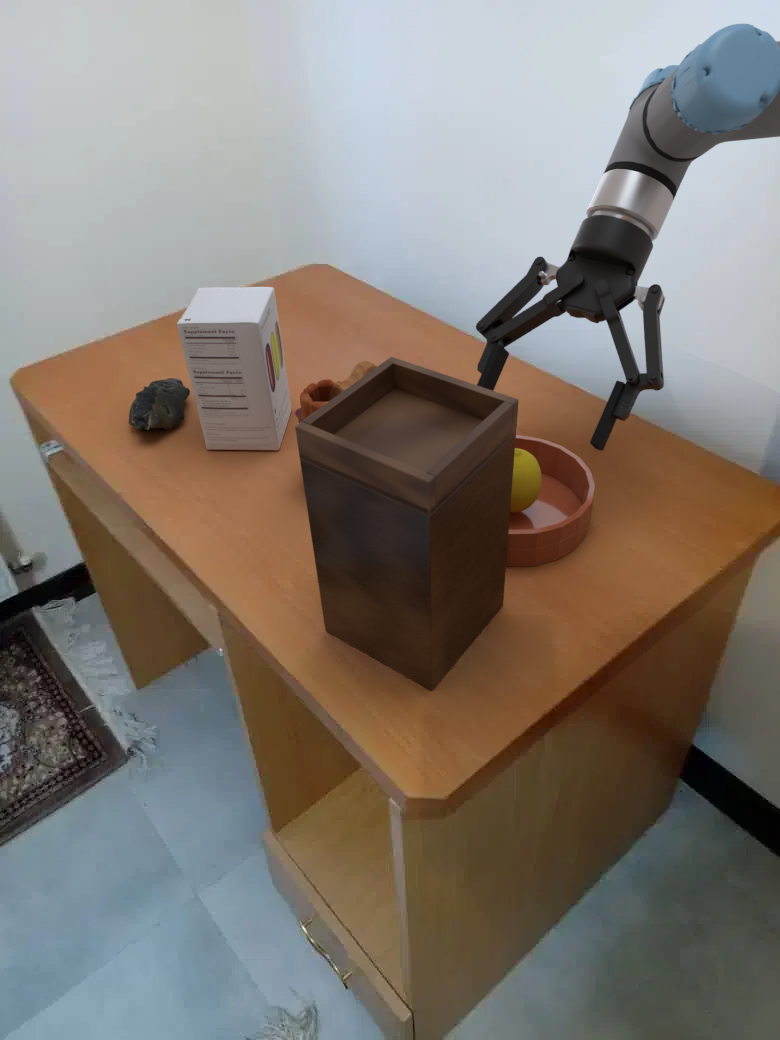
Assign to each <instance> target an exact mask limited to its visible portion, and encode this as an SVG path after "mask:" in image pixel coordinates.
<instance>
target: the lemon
mask: <svg viewBox="0 0 780 1040" xmlns="http://www.w3.org/2000/svg"><path fill="white" fill-rule="evenodd" d="M540 489H541V470H540V467H539V464H538V462H537V460H536V458H535V457H534V456H533V455H532V454H530V453H529V452H527V451H525V450H523V449H518V448H515V453H514V467H513V480H512V493H511V507H510V512H521V511H523V510H526V509H527V508H529V507H530V506H531V505H532V504H533V503H534V502H535V501H536V499H537V497H538V495H539V493H540Z"/></svg>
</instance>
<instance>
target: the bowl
mask: <svg viewBox="0 0 780 1040" xmlns="http://www.w3.org/2000/svg"><path fill="white" fill-rule="evenodd" d="M515 448H518V449H523V450H525V451H527V452H529V453H530V454H532V455H533V456H534V457H535V458H536V460H537V462H538V464H539V467H540V470H541V489H540V493H539V495H538V497H537V499H536V501H535V502H534V503H533V504H532V505H531V506H530V507H529V508H527V509H526V510H523V511H521V512H510V520H509V533H508V547H507V560H506V567H511V568H513V567H519V568H520V567H521V568H523V567H533V566H534V567H535V566H539V565H544V564H548V563H550V562H554V561H556V560H559V559H562V558H563V557H565V556H567V555H568V554H571V552H572V551H574V550H575V549H576V548H577V547H578V546H579V545H580V544H581V543H582V542H583V540H584V539H585V537H586V535H587V533H588V531H589V526H590V521H591V517H592V511H593V506H594V498H595V493H596V483H595V480H594V477H593V473H592V471H591V469H590V468H589V466H587V464H586V463H585V462H584V461H583V460H582V458H581V457H580V456H578V455H577V454H575V453H573V452H572V451H570V450H569V449H567V448H566V447H564V446H563V445H560V444H557V443H555V442H552V441H549V440H546V439H543V438H540V437H534V436H526V435H520V434H516V440H515Z"/></svg>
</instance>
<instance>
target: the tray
mask: <svg viewBox="0 0 780 1040" xmlns="http://www.w3.org/2000/svg"><path fill="white" fill-rule="evenodd" d="M376 366H377V367H376V368H375V369H373V370H372V371H371V372H369V373H368V374H366V375H365V376H364V377H362V378H361V379H359V380H358V381H357V382H355V383H354V384H353V385H351V386H350V387H348V388H347V389H346V390H344V391H343V392H341V393H340V394H339V395H337V396H336V397H335V398H333V399H332V400H330V401H329V402H328V403H326V404H325V405H324V406H322V407H321V408H319V409H318V410H317V411H315V412H314V413H312V414H311V415H310V416H308V417H307V418H306V419H304V420H303V421H302V422H300V423H299V422H298V423H297V424H296V425H295V426H294V429H295V436H296V442H297V448H298V455H299V460H300V459H302V460H304V461H307V462H309V463H311V464H314V465H316V466H318V467H320V468H323V469H325V470H327V471H329V472H332V473H334V474H336V475H338V476H341V477H343V478H345V479H348V480H350V481H352V482H354V483H357V484H359V485H361V486H363V487H366V488H368V489H370V490H372V491H375V492H377V493H379V494H381V495H384V496H386V497H388V498H391V499H393V500H395V501H397V502H400V503H402V504H404V505H406V506H409V507H411V508H413V509H415V510H418V511H420V512H422V513H425V514H427V515H431V514H432V513H433V512H434V511H435V510H436V509H437V508H438V507H439V506H440V505H441V504H442V503H443V502H444V501H445V500H446V499H447V498H448V497H449V496H450V495H451V494H452V493H453V492H454V491H455V490H456V489H457V488H458V487H460V486H461V485H462V484H463V483H464V482H465V481H466V480H467V479H468V478H469V477H470V476H471V475H472V474H473V473H474V472H475V471H476V470H477V469H478V468H479V467H480V466H481V465H482V464H483V463H484V462H485V461H486V460H487V459H488V458H489V457H491V456H492V455H493V454H494V453H495V452H496V451H497V450H498V449H499V448H500V447H501V446H502V445H503V444H504V443H505V442H506V441H507V440H508V439H509V438H510V437H511V436H512V435H513V434H514V433H515V432H516V433H517V427H518V413H519V401H520V399H519V398H516V397H513V396H510V395H507V394H504V393H501V392H498V391H495V390H493V391H492V390H489V389H486V388H483V387H480V386H477V384H474V383H471V382H468V381H465V380H462V379H459V378H457V377H453V376H450V375H448V374H444V373H442V372H438V371H435V370H432V369H429V368H427V367H424V366H421V365H417V364H415V363H412V362H409V361H406V360H404V359H400V358H396V357H394V356H390V357H388V358H387V359H386V360H384V361H383V362H381V363H380V364H378V365H376Z"/></svg>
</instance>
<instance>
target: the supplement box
mask: <svg viewBox="0 0 780 1040" xmlns="http://www.w3.org/2000/svg"><path fill="white" fill-rule="evenodd" d="M275 291H276V290H275V288H274V286H236V287H235V286H230V287H229V286H228V287H227V286H226V287H225V286H222V287H217V286H216V287H215V286H214V287H199V288H197V289H196V291H195V293H194V295H193V297H192V299H191V301H190V303H189V304H188V306H187V308H186V309H185V310H184V312H183V314H182V315H181V317H180V318H179V320H178V321H177V323H176V327H177V332H178V335H179V340H180V344H181V348H182V353H183V356H184V360H185V364H186V368H187V372H188V377H189V380H190V381H189V382H190V385H191V389H192V393H193V397H194V402H195V405H196V410H197V414H198V419H199V422H200V427H201V432H202V435H203V440H204V443H205V448H206V450H221V451H222V450H223V451H224V450H228V451H232V450H234V451H236V450H238V451H279V450H280V449H281V445H282V442H283V439H284V436H285V433H286V430H287V426H288V423H289V420H290V417H291V414H292V410H293V409H292V401H291V395H290V388H289V380H288V375H287V368H286V361H285V354H284V348H283V347H284V346H283V340H282V333H281V326H280V320H279V313H278V308H277V307H278V306H277V305H278V304H277V299H276V292H275Z"/></svg>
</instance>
